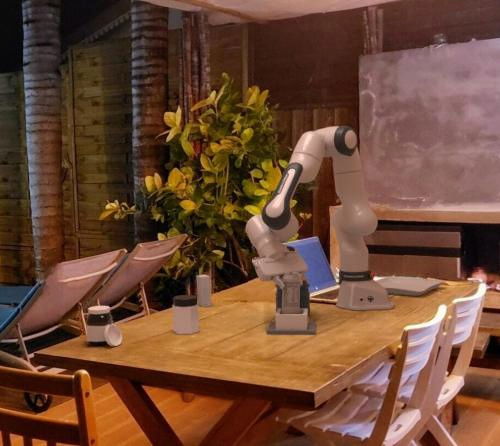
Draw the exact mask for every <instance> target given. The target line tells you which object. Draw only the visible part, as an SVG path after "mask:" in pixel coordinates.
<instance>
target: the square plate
mask: <svg viewBox="0 0 500 446" xmlns="http://www.w3.org/2000/svg"><path fill="white" fill-rule="evenodd" d="M375 281H376V282H377V283H379V284H380V285H381V286H383V287H384V288H385V289H386V291H387V293H388V295H395V296H396V295H397V296H405V297H406V296H407V297H418V296H421V295H423V294H426V293H428V292H430V291H432V290H434V289H437V288H439V287H440V286H442V285H443V283H445V281H444V280H437V279H429V278H419V277H406V276H405V277H404V276H385V277H382V278H379V279H377V280H375Z"/></svg>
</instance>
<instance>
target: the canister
mask: <svg viewBox="0 0 500 446" xmlns="http://www.w3.org/2000/svg"><path fill="white" fill-rule="evenodd" d="M308 279H309V278H308V277H307V276H305V275H303V276H301V281H302V282H303V284H302V286H300V306H299V309H308V318H309V317H310V316H311V299H310V298H311V292H310V289H309V288H310V286H311V284H310V283H309V282H308ZM280 280H281V281H282V279H280ZM274 284H275V285H274V286H275V288H276V289H275V290H276V292H275V294H274V295H275V313H276V312H277V310H278V308H282V289H281V288H280V287H279V286H278V285H277V284H276V283H274Z"/></svg>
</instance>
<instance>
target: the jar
mask: <svg viewBox="0 0 500 446" xmlns="http://www.w3.org/2000/svg"><path fill="white" fill-rule="evenodd" d="M172 300H173V304H172V324H173V325H172V326H173V329H172V330H173V331H172V332H174V333H175V334H177V335H193V334H196V333H199V332H200V313H199V311H200V309H199V308H200V307H199V306H200V305H199V304H198V295H197V296H196V295H194V294H181V295H175V296H174V297H173V298H172Z"/></svg>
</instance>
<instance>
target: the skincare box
mask: <svg viewBox="0 0 500 446" xmlns="http://www.w3.org/2000/svg"><path fill="white" fill-rule="evenodd" d="M195 277H196V292H197V293H196V294H197V300H198V302H197V304H198V305H199V306H200V307H203V308H207V307H212V292H211V291H212V290H211V276H209V275H207V274H198V275H197V274H196V276H195Z"/></svg>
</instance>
